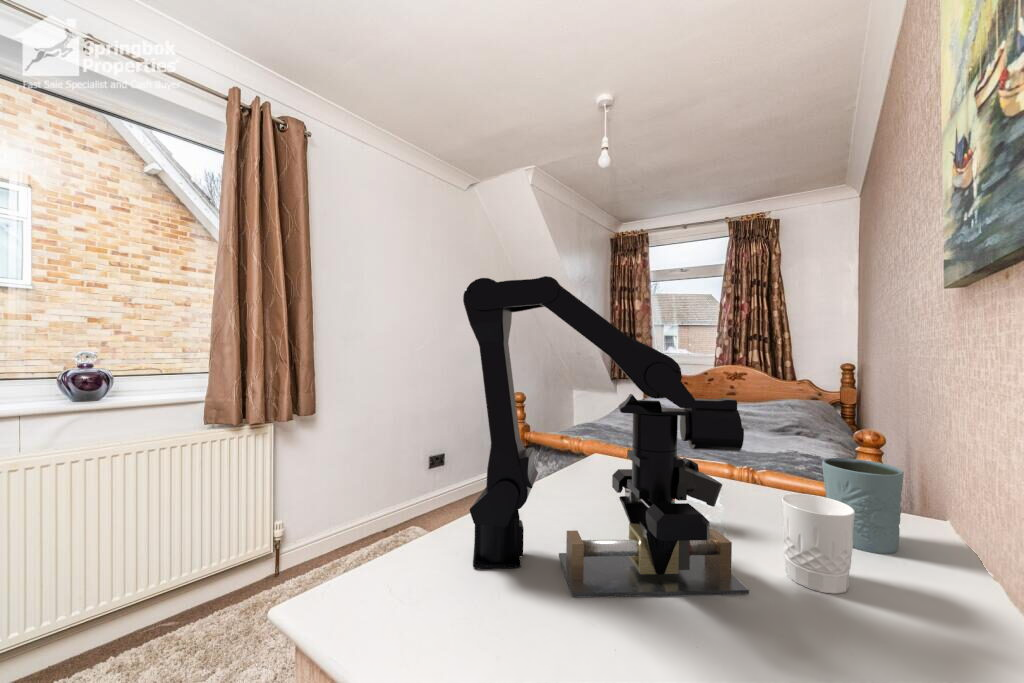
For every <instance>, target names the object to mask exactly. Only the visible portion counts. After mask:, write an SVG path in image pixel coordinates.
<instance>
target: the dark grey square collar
mask: <svg viewBox="0 0 1024 683" xmlns="http://www.w3.org/2000/svg"><path fill="white" fill-rule="evenodd" d="M679 570H690V540H688V541H679Z"/></svg>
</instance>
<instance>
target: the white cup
mask: <svg viewBox="0 0 1024 683" xmlns="http://www.w3.org/2000/svg"><path fill="white" fill-rule="evenodd" d="M781 516H782V518H781V519H782V520H781V521H782V539H783V552H784V554H785V555H784V561H785V564H784V565H785V572H786V574H787V576H788V577H789V578H790V579H791V581H793V582H795V583H796V584H798V585H800V586H802V587H804V588H807V589H810V590H813V591H816V592H820V593H825V594H826V593H827V594H832V595H833V594H834V595H835V594H836V595H837V594H838V595H839V594H841V593H842V594H843V593H846V592H847V590H848V589H849V585H850V572H851V571H850V570H851V566H852V556H853V549H854V548H853V532H854V517H855V511H854V509H853V508H852V507H850V506H848V505H846V504H844V503H842V502H839V501H836V500H833V499H829V498H826V496H821V495H814V494H807V493H806V494H805V493H788V494H784V495H782V496H781Z"/></svg>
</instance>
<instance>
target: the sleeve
mask: <svg viewBox="0 0 1024 683" xmlns="http://www.w3.org/2000/svg"><path fill="white" fill-rule="evenodd" d="M628 523H629V524H628V540H639V556H629V558H630V559H631V561H632V562H633V564H634V565H635V567H636V568H637V570H638V571H639V573H640V574H656V572H655V570H654V567H653V564H652V561H651V557H650V554H649V551H648V548H647V545H646V541H645V538H644V535H643V532H642V529H641V526H640V523H630V522H628ZM678 572H679V541H677V544H676V546H675V548H674V550H673V553H672V556H671V558H670V561H669V564H668V566H667V569H666V572H665V574H678Z"/></svg>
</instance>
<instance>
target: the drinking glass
mask: <svg viewBox="0 0 1024 683" xmlns="http://www.w3.org/2000/svg"><path fill="white" fill-rule="evenodd" d="M821 463H822V464H821V465H822V474H823V483H824V484H823V485H824V490H825V498H829V499H833V500H836V501H839V502H842V503H844V504H846V505H848V506H850V507H852V508H853V509H854V511H855V517H854V532H853V548H852V549H855V550H858V551H863V552H866V553H867V552H868V553H873V554H881V555H890V554H894V553H896V552H898V550H899V546H900V545H899V543H900V530H901V529H900V524H901V514H902V507H901V502H902V490H903V483H904V471H903V470H902V469H901V468H898V467H896V466H894V465H890V464H886V463H883V462H878V461H871V460H866V459H865V460H864V459H858V458H847V457H845V458H844V457H830V458H829V457H828V458H824V459H823V460H822V462H821Z"/></svg>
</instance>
